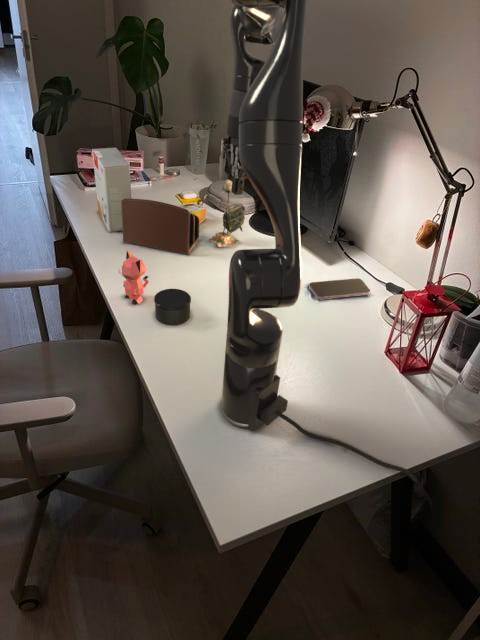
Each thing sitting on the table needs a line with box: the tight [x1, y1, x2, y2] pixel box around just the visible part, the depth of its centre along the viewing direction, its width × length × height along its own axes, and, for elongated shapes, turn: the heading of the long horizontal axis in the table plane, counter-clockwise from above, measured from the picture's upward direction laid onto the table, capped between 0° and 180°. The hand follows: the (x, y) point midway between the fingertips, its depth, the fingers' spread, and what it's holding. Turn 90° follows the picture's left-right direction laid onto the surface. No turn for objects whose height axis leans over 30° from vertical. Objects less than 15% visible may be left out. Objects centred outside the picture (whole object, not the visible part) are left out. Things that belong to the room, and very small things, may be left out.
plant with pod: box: [208, 179, 246, 248], centre depth 144 cm, size 8×11×20 cm
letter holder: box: [121, 198, 200, 256], centre depth 143 cm, size 10×20×14 cm, turn 76°
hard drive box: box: [91, 147, 133, 233], centre depth 150 cm, size 16×8×20 cm, turn 25°
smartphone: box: [308, 277, 371, 300], centre depth 132 cm, size 7×1×15 cm
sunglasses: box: [182, 203, 207, 225], centre depth 161 cm, size 14×15×5 cm
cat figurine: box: [117, 249, 150, 306], centre depth 119 cm, size 7×7×12 cm
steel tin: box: [153, 288, 192, 326], centre depth 116 cm, size 8×8×5 cm
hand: (236, 193), depth 115 cm, fingers closed
